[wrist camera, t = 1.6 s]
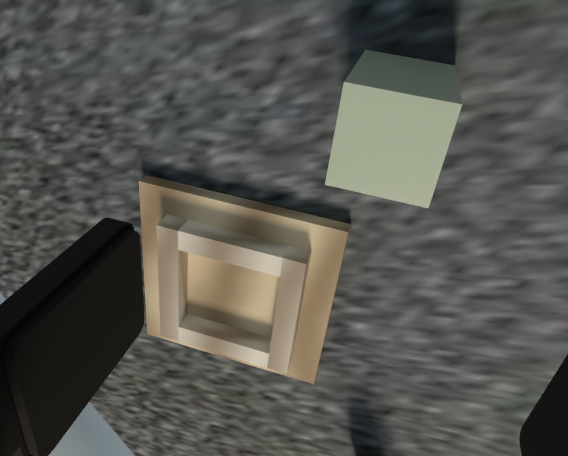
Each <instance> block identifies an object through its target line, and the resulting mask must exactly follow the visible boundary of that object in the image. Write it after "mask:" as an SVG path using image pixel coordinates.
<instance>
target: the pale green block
mask: <svg viewBox="0 0 568 456" xmlns="http://www.w3.org/2000/svg"><path fill="white" fill-rule="evenodd" d="M461 107H462V101H461V95H460V90H459V84H458V79H457V73H456V68H455V65H449V64H444V63H438V62H432V61H427V60H421V59H415V58H410V57H404V56H399V55H393V54H387V53H382V52H376V51H371V50H365V51H364V53H363V54H362V56H361V57H360V59H359V60H358V62H357V63H356V65H355V66H354V68H353V69H352V71H351V72H350V74H349V75H348V77H347V78H346V80H345V81H344V85H343V90H342V95H341V101H340V106H339V112H338V117H337V123H336V128H335V133H334V139H333V144H332V150H331V155H330V161H329V166H328V171H327V177H326V182H325V185H329V186H333V187H338V188H342V189H346V190H351V191H355V192H359V193H364V194H368V195H373V196H377V197H381V198H386V199H390V200H394V201H399V202H403V203H407V204H412V205H416V206H421V207H425V208H429V204H430V201H431V198H432V195H433V192H434V189H435V186H436V183H437V180H438V177H439V174H440V171H441V168H442V165H443V162H444V159H445V156H446V152H447V149H448V146H449V143H450V140H451V137H452V134H453V131H454V128H455V125H456V122H457V119H458V116H459V113H460V110H461Z"/></svg>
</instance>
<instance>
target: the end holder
mask: <svg viewBox="0 0 568 456" xmlns="http://www.w3.org/2000/svg"><path fill="white" fill-rule="evenodd" d="M139 193H140V211H141V228H142V246H143V264H144V282H145V299H146V317H147V334H149V335H152V336H156V337H159V338H162V339H166V340H169V341H172V342H176V343H179V344H182V345H185V346H189V347H192V348H195V349H199V350H202V351H205V352H209V353H212V354H215V355H219V356H222V357H225V358H229V359H232V360H235V361H239V362H242V363H245V364H248V365H252V366H255V367H258V368H262V369H265V370H268V371H272V372H275V373H278V374H282V375H285V376H288V377H292V378H295V379H298V380H302V381H305V382H308V383H312V384H314V382H315V378H316V375H317V370H318V366H319V361H320V357H321V353H322V348H323V344H324V340H325V335H326V331H327V327H328V322H329V318H330V313H331V309H332V305H333V300H334V296H335V292H336V287H337V283H338V278H339V274H340V270H341V265H342V261H343V257H344V252H345V248H346V244H347V239H348V235H349V230H350V226H351V224H348V223H344V222H339V221H335V220H331V219H327V218H323V217H319V216H315V215H310V214H306V213H302V212H298V211H294V210H290V209H285V208H281V207H277V206H273V205H269V204H265V203H261V202H256V201H252V200H248V199H244V198H240V197H236V196H232V195H227V194H223V193H219V192H215V191H211V190H207V189H202V188H198V187H194V186H190V185H186V184H182V183H178V182H173V181H169V180H165V179H161V178H157V177H153V176H148V175H146V176H145V177H143V178H142V179H141V180H140V181H139Z"/></svg>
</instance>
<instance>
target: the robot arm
mask: <svg viewBox="0 0 568 456" xmlns="http://www.w3.org/2000/svg"><path fill="white" fill-rule="evenodd" d="M143 324H144V304H143V286H142V267H141V249H140V236H139V233H138V232H137V231H134V227H133V226H132V224H130V223H127V222H123V221H119V220H115V219H111V218H104V219H103V220H101V221H100V222H99V223H98V224H96V225H95V226H94V227H93V228H92V229H90V230H89V231H88V232H87V233H86V234H84V235H83V236H82V237H81V238H80V239H78V240H77V241H76V242H75V243H74V244H72V245H71V246H70V247H69V248H68V249H66V250H65V251H64V252H63V253H62V254H60V255H59V256H58V257H57V258H56V259H54V260H53V261H52V262H51V263H50V264H48V265H47V266H46V267H45V268H44V269H43V270H41V271H40V272H39V273H38V274H37V275H35V276H34V277H33V278H32V279H31V280H29V281H28V282H27V283H26V284H25V285H23V286H22V287H21V288H20V289H19V290H17V291H16V292H15V293H14V294H13V295H11V296H10V297H9V298H8V299H7V300H5V301H4V302H3V303H2V304H1V305H0V456H48V455H49V454H50V453H51V452H52V450H53V449H54V448H55V447H56V445H57V444H58V443H59V441H60V440H61V439H62V437H63V435H64V434H65V433H66V432H67V430H68V429H69V428H70V426H71V425H72V424H73V422H74V421H75V420H76V418H77V417H78V415H79V414H80V413H81V412H82V410H83V409H84V408H85V406H86V405H87V404H88V402H89V401H90V400H91V398H92V397H93V396H94V394H95V393H96V392H97V390H98V389H99V387H100V386H101V385H102V383H103V382H104V381H105V379H106V378H107V377H108V375H109V374H110V373H111V371H112V370H113V369H114V367H115V366H116V365H117V363H118V362H119V361H120V359H121V358H122V357H123V355H124V354H125V353H126V351H127V350H128V349H129V347H130V346H131V344H132V343H133V342H134V340H135V339H136V338H137V336H138V335H139V334H140V332H141V330H142V327H143ZM520 448H521V453H522V456H568V355H567V356H566V358H565V359H564V361H563V363H562V364H561V366H560V367H559V369H558V371H557V372H556V374H555V375H554V377H553V378H552V380H551V382H550V383H549V385H548V386H547V388H546V390H545V391H544V393H543V394H542V396H541V398H540V399H539V401H538V402H537V404H536V405H535V407H534V409H533V410H532V412H531V413H530V415H529V417H528V418H527V420H526V421H525V423H524V424H523V426H522V429H521V432H520Z"/></svg>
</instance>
